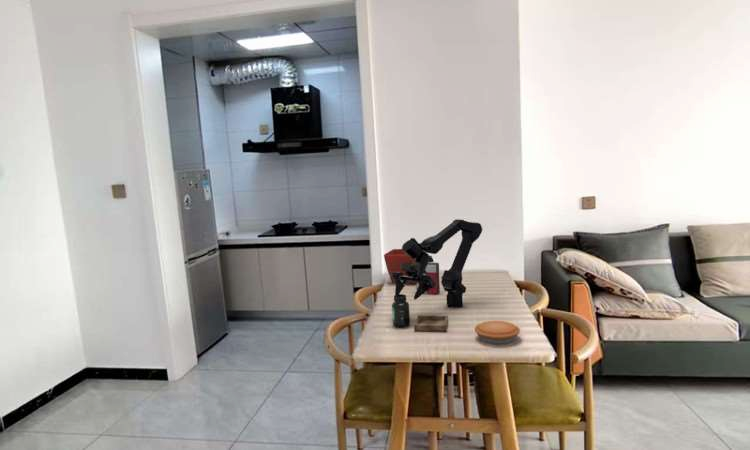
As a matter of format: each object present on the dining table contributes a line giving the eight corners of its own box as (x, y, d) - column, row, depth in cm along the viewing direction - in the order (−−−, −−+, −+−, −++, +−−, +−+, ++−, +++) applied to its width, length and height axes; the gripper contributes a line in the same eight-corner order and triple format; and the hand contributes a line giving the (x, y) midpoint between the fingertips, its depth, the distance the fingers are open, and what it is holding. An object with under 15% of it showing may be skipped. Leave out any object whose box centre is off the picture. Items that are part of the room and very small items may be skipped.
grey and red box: (416, 293, 230) (414, 263, 228) (418, 291, 234) (417, 262, 232) (438, 294, 226) (436, 264, 224) (440, 292, 230) (438, 262, 228)
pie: (493, 350, 154) (492, 335, 154) (466, 336, 169) (465, 323, 168) (530, 341, 160) (529, 327, 160) (500, 328, 175) (500, 315, 174)
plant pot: (394, 277, 268) (393, 248, 266) (427, 278, 262) (426, 248, 260) (385, 285, 250) (383, 254, 248) (420, 286, 244) (418, 254, 242)
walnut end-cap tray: (448, 321, 186) (448, 315, 185) (446, 331, 174) (446, 325, 174) (418, 321, 188) (417, 315, 188) (414, 331, 177) (414, 325, 176)
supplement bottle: (392, 328, 182) (390, 298, 180) (393, 322, 189) (392, 293, 187) (409, 328, 181) (407, 297, 179) (410, 322, 188) (409, 293, 186)
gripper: (392, 252, 194) (377, 284, 187) (430, 255, 182) (415, 289, 175) (404, 267, 201) (390, 298, 194) (442, 271, 189) (428, 304, 182)
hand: (405, 297), depth 186 cm, fingers open, 9 cm apart
